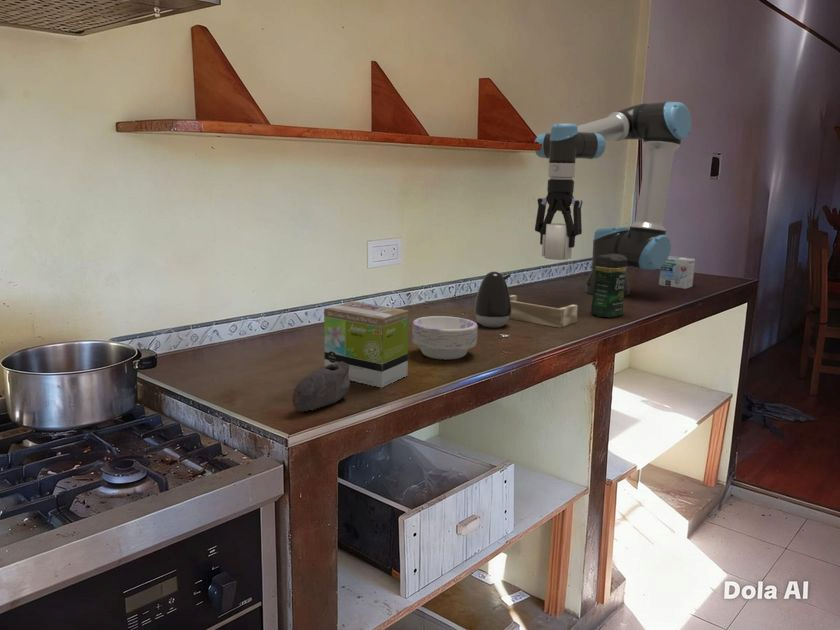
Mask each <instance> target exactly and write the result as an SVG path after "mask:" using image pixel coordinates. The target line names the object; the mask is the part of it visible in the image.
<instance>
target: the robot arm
mask: <svg viewBox="0 0 840 630" xmlns="http://www.w3.org/2000/svg"><path fill="white" fill-rule="evenodd" d="M550 129H551V130H550V132H546V133H541V134H540V133H539V135H537V136H536V137H535V140H534V143H535V142H538V143H539V144H542V147H541V148H542V149H540V150H541V151H535V150H534V152H535V155H536V156H538V157H539V158H542V159H543V158H544V159H547V160H548V159H549V160H548V172H547V173H548V174H547V175H548V178H549V179H548V180H547V194H546V197H541V198H540V197H539V198H538V199H537V214H536V219H535V226H534V231H535V232H536V233H539V234H540V240H539V244H540V245H541V257H545V239H546V224H551V223H552V221H553V219H554V217H555V214H556V213H557V212H561V214H562V216H563V220H564V224H566V228H567V232H568V235H567V237H566V241H565V257H564V259H566V260H569V259H572V252H573V251H572V249H573V248H575V245H576V244H575V243H576V236H579V235H582V234H583V233H582V232H583V231H582V230H583V228H582V226H583V225H582V205H583V203H584V202H583V200H581V199H576V198H575V197H574V195H573V193H574V188H575V181H574V178H575V171H576V159H587V160H592V159H598V158H600V157H601V156H603V154H604V153H605V151H606V147H607V146H606V144H607V143H608V142H610V141H615V142H621V141H625V140H641V141H642V140H643V141H642V144H643V145H644V147H645V148H646V153H645V160H644V165H643V166H644V167H643V172H642V179H641V185H640V191H639V196H638V197H639V198H638V204H637V210H636V217H635V221H634V222H633V223H631V225H629V227H628V226H623V227H604V228H598V229H596V230H595V232H594V235H593V240H592V257H591V258H592V259H591V260H592V261H591V272H590V273H589V275H588V278H587V281H586V284H585V287H584V292H585V293H587V294H590V295H593V293H594V285H595V262H596V258H597V257H598V256H599V255H606V254H620V255H625V256H626V258H627V267H630V268H636V269H637V268H638V269H641V270H657V269H659V268H660V269H661V266H662V265H663V264H664V263H665V262H666V261H667V259H668V257H669V256H670V254H671V250H672V243H671V239H670V237H668V235H666V233H667V229H666V228H665V227H664V226H663V225H664V224H663V222H664V216H665V210H666V204H667V199H668V198H667V197H668V191H669V184H670V179H671V174H672V168H673V166H672V165H673V160H674V155H675V151H676V150H677V149H679V148H680V147H681V144H682V143H681V141H682V140H684V139H686V138H687V137H689V135H690V133H691V130H692V116H691V112H690V110H689V109H688V107H687V106H686V105H685V104H684V103H682V102H680V101H665V102H653V103H640V104H636V105H631V106H629V107H626V108H622V109H620V110H617V111H612V113H609V114H608V116H607V117H604V118H600V119H598V120H593V121H590V122H587V123H583V124H581V125H577V124H576V123H555V124H553V125H552V126H551V128H550ZM547 204H548V207H547ZM571 205H572V206H573V207H572V209H571ZM546 209H547V210H546ZM572 210H573V211H572ZM572 212H573V214H572ZM572 216H573V217H572ZM628 295H630V284H629V280H628V276H627V273H626V274H625V280H624V297H625V296H626V297H627V296H628Z"/></svg>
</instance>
